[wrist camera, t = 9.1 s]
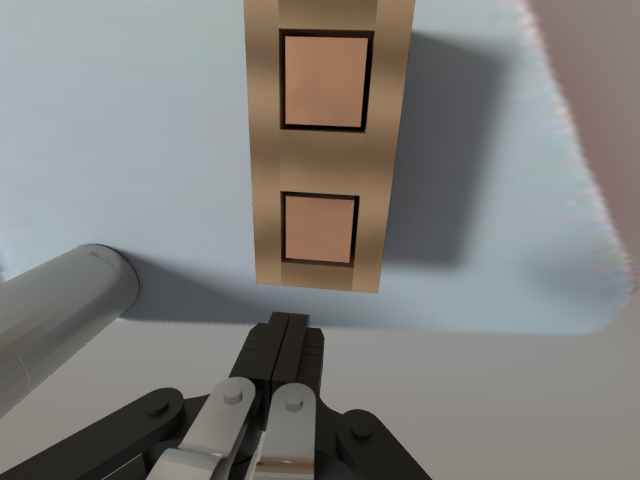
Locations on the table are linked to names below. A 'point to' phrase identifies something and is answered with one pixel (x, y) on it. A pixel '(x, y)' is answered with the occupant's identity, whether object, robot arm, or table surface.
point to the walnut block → (324, 135)
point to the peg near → (325, 80)
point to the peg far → (319, 226)
